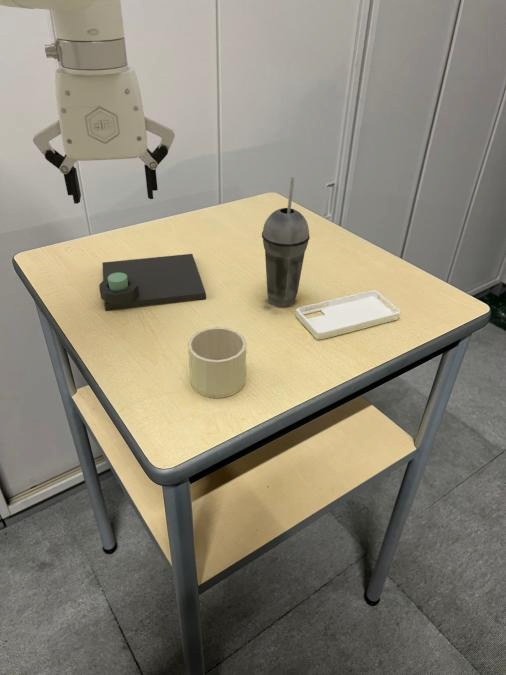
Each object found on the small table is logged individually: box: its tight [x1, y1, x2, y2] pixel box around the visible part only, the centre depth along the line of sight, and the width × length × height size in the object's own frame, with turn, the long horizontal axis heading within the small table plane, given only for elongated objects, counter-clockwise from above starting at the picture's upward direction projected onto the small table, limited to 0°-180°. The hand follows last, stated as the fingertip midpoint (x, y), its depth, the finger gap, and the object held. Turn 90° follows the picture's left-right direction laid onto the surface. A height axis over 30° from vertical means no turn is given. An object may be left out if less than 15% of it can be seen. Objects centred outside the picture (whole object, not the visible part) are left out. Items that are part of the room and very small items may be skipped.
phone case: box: [295, 289, 402, 340], centre depth 81 cm, size 7×1×15 cm
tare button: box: [108, 273, 128, 291], centre depth 81 cm, size 3×3×2 cm
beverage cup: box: [261, 176, 311, 309], centre depth 79 cm, size 7×7×20 cm
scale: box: [98, 253, 207, 312], centre depth 87 cm, size 16×14×3 cm
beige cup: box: [187, 326, 247, 399], centre depth 67 cm, size 7×7×6 cm
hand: (114, 197), depth 70 cm, fingers open, 9 cm apart
